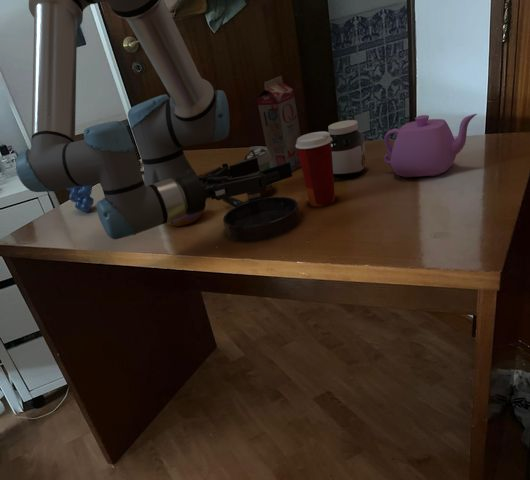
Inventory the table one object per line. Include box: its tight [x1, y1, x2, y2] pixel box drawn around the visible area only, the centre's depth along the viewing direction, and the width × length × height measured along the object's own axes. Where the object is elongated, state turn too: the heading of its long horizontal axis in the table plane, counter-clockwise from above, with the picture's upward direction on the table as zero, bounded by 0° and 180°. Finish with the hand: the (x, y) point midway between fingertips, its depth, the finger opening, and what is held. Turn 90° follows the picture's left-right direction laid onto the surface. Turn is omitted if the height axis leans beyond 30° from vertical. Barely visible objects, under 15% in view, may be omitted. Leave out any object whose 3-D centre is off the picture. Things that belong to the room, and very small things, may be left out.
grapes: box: [65, 184, 94, 213], centre depth 145 cm, size 12×7×12 cm, turn 46°
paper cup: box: [295, 131, 336, 208], centre depth 113 cm, size 8×8×14 cm
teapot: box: [383, 113, 478, 178], centre depth 116 cm, size 20×13×12 cm, turn 64°
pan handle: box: [221, 196, 250, 208], centre depth 122 cm, size 12×3×2 cm, turn 27°
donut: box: [165, 211, 203, 227], centre depth 124 cm, size 10×9×5 cm
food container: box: [238, 145, 274, 201], centre depth 127 cm, size 12×6×10 cm, turn 168°
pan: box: [222, 196, 301, 242], centre depth 112 cm, size 16×16×3 cm
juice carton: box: [256, 75, 302, 172], centre depth 138 cm, size 7×7×22 cm
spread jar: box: [327, 119, 367, 180], centre depth 127 cm, size 12×11×12 cm
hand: (273, 166), depth 109 cm, fingers open, 13 cm apart
